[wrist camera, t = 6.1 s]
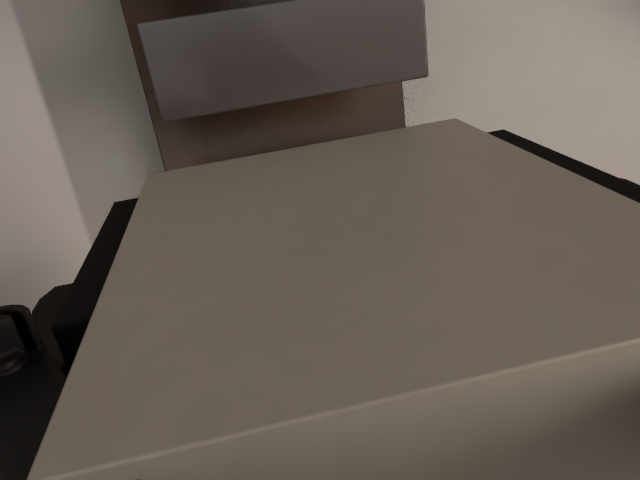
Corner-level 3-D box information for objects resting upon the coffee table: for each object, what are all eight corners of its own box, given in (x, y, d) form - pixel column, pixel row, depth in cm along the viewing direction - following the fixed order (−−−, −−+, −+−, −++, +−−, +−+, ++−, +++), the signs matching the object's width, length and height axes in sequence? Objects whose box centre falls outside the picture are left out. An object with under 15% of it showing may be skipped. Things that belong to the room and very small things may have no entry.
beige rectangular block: (147, 174, 17) (22, 486, 6) (455, 117, 18) (837, 292, 7) (171, 260, 18) (105, 650, 7) (459, 203, 19) (786, 465, 8)
